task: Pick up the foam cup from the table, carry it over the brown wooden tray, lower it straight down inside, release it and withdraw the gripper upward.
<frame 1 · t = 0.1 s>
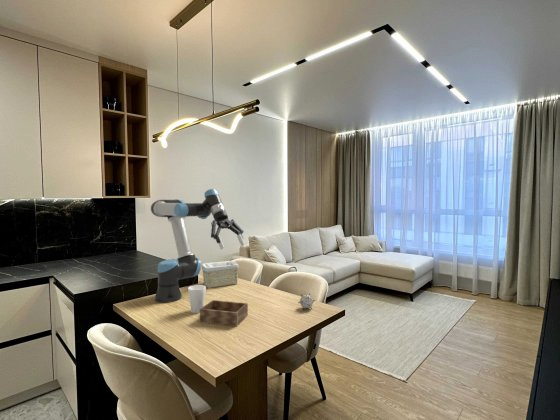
hand: (233, 246, 160), 36 cm above the table, tool tilted 35°, fingers open, 13 cm apart
grey spiked ball: (306, 308, 168), on the table
storage basket: (220, 284, 217), on the table
foam cup: (197, 311, 164), on the table
brown wooden tray: (224, 318, 153), on the table
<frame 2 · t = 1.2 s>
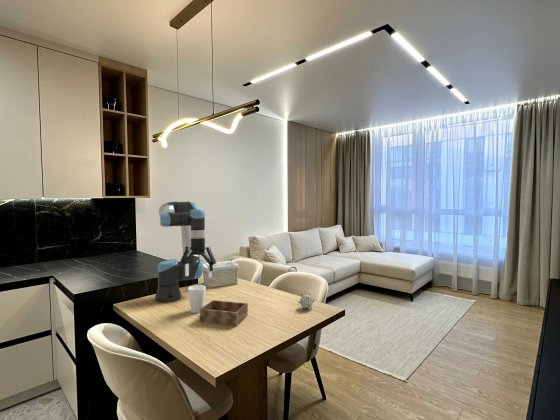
hand: (198, 276, 164), 19 cm above the table, tool pointing down, fingers open, 13 cm apart
nothing on the table moved.
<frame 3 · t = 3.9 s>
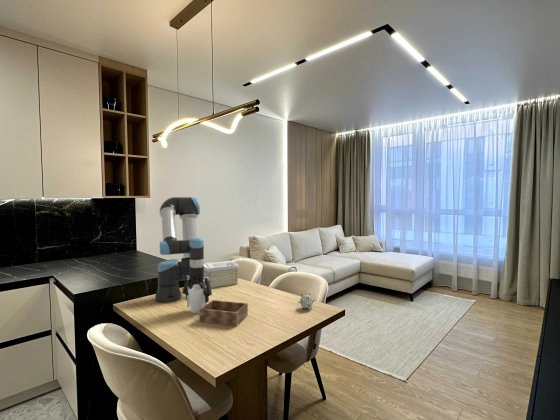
hand: (197, 307, 164), 2 cm above the table, tool pointing down, fingers closed on foam cup, 9 cm apart
foam cup: (197, 311, 164), on the table, touching gripper
everything else where it was.
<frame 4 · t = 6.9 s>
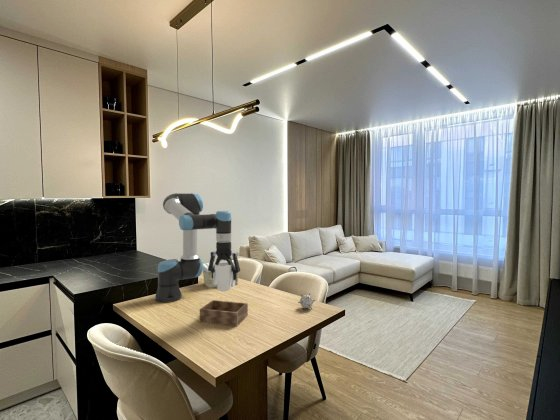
hand: (224, 285, 153), 17 cm above the table, tool pointing down, fingers closed on foam cup, 9 cm apart
foam cup: (224, 289, 153), point 15 cm above the table, touching gripper
everything else where it was.
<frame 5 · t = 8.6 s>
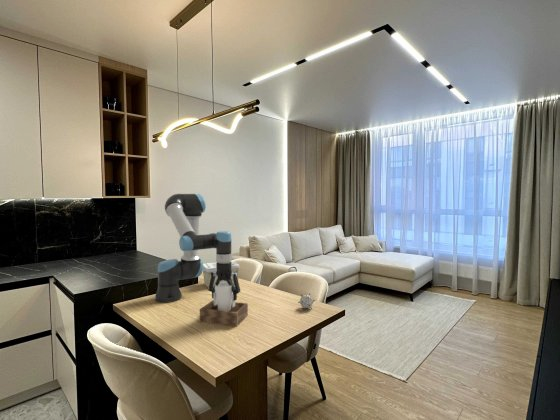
hand: (224, 305, 153), 7 cm above the table, tool pointing down, fingers closed on foam cup, 9 cm apart
foam cup: (224, 309, 153), point 5 cm above the table, touching gripper
when the fingers open (4 cm above the table, at t = 10.1 s): foam cup drops 1 cm, resting on brown wooden tray.
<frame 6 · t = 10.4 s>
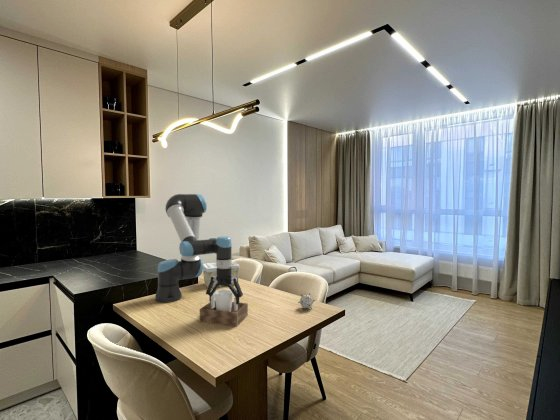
hand: (224, 309, 153), 5 cm above the table, tool pointing down, fingers open, 12 cm apart
foam cup: (223, 318, 154), resting on brown wooden tray
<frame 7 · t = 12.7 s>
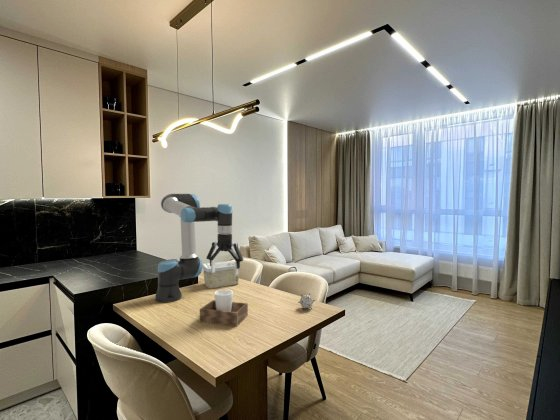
hand: (224, 273, 158), 22 cm above the table, tool pointing down, fingers open, 13 cm apart
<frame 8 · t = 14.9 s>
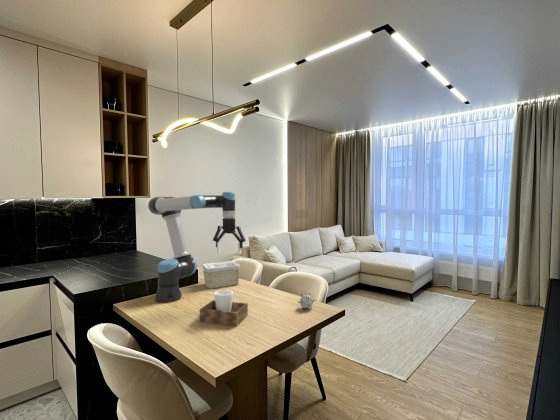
hand: (229, 253, 180), 29 cm above the table, tool pointing down, fingers open, 13 cm apart
at the end: foam cup inside the target area on the brown wooden tray (0.3 cm from its centre), point 0.3 cm above the brown wooden tray's base; foam cup tilted 0°; the gripper is holding nothing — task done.
